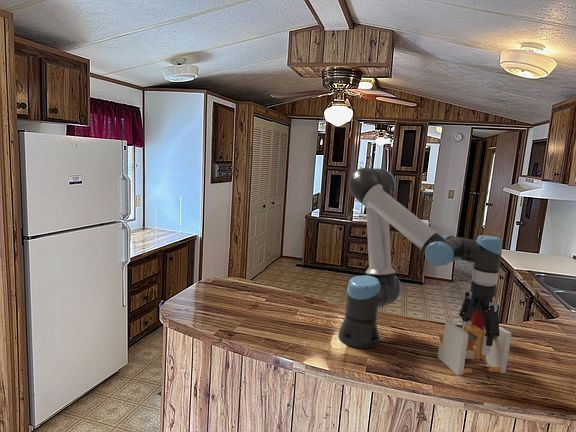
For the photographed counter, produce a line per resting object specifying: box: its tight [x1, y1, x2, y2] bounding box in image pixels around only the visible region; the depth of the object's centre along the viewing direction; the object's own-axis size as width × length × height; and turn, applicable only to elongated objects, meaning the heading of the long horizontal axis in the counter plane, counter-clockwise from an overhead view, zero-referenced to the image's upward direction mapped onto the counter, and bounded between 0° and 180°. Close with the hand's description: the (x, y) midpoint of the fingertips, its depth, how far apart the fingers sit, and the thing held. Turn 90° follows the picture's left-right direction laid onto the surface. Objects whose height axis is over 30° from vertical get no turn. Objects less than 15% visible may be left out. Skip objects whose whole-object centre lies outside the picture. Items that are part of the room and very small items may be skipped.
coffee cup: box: [471, 309, 488, 331], centre depth 159 cm, size 8×8×15 cm
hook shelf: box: [437, 321, 512, 376], centre depth 135 cm, size 18×12×14 cm, turn 102°
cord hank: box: [465, 325, 486, 360], centre depth 134 cm, size 8×4×9 cm, turn 12°
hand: (474, 346), depth 134 cm, fingers open, 10 cm apart
